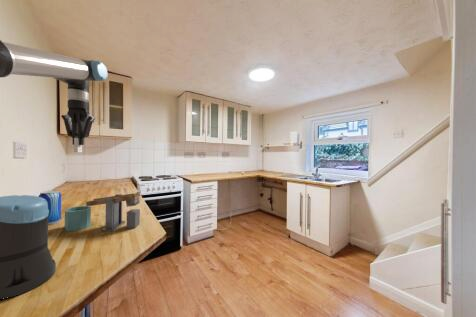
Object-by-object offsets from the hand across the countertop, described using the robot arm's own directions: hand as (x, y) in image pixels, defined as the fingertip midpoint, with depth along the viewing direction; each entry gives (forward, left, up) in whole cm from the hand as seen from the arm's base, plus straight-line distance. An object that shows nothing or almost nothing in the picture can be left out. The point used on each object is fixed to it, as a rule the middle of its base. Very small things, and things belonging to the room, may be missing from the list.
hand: (78, 152), depth 85 cm
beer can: (+10, +20, -37) cm, 43 cm away
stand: (+4, -14, -36) cm, 39 cm away
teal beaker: (+4, +2, -36) cm, 37 cm away
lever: (+8, -15, -27) cm, 32 cm away
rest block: (+4, -23, -36) cm, 43 cm away
